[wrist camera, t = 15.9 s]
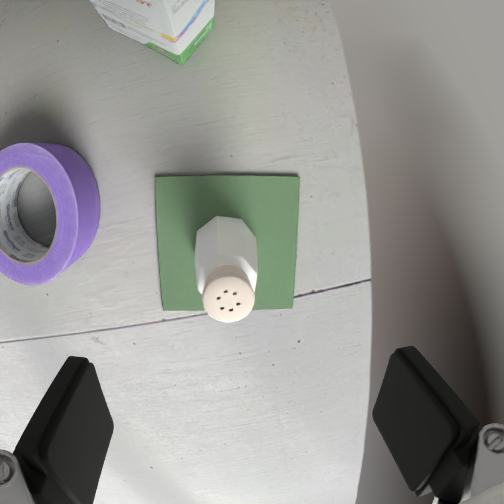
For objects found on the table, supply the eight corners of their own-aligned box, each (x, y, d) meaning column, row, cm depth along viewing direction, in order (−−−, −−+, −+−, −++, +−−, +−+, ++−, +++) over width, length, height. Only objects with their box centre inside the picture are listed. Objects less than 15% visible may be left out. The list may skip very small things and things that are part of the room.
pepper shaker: (185, 224, 26) (162, 266, 15) (248, 206, 26) (267, 237, 15) (203, 282, 27) (195, 354, 17) (263, 266, 28) (289, 330, 17)
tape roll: (115, 253, 26) (95, 272, 21) (22, 276, 26) (-4, 295, 21) (86, 125, 23) (60, 120, 18) (-5, 166, 22) (-36, 170, 18)
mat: (299, 176, 26) (299, 176, 26) (292, 307, 29) (292, 308, 29) (155, 176, 25) (155, 176, 25) (163, 309, 28) (163, 310, 28)
